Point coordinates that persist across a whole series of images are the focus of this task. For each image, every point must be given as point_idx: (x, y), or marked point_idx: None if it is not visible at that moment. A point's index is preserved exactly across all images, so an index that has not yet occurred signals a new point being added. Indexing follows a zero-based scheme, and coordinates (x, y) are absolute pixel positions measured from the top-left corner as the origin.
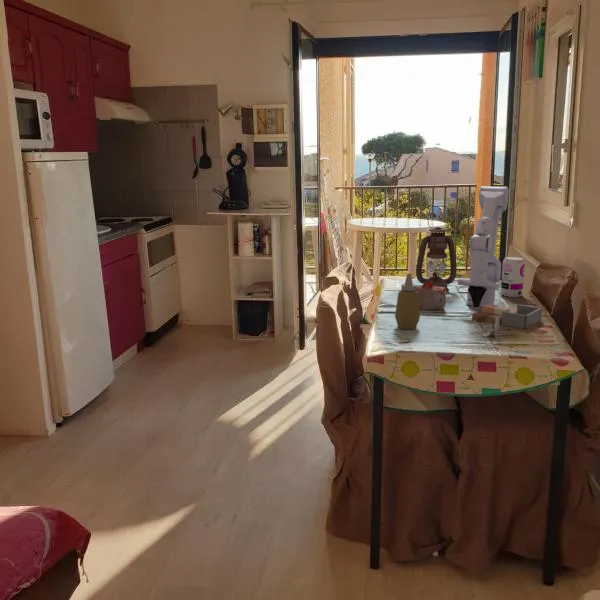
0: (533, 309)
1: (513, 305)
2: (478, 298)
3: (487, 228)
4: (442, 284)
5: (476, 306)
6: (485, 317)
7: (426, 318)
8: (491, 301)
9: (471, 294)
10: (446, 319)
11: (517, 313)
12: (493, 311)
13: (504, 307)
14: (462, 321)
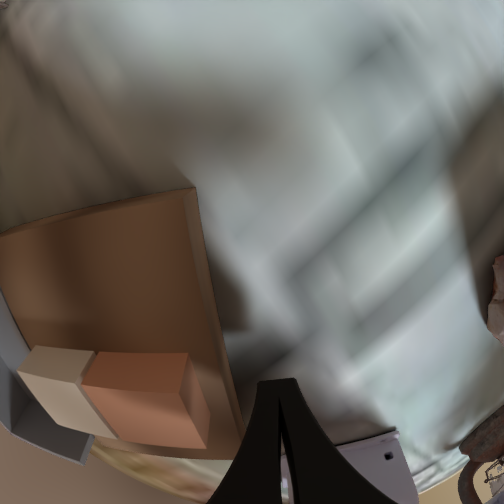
0: (28, 433)
1: None
2: (233, 464)
3: None
4: (486, 449)
5: (261, 391)
6: (58, 221)
7: (461, 19)
8: (291, 486)
9: (341, 485)
10: (374, 51)
11: None
12: (95, 368)
13: (74, 423)
14: (231, 79)
